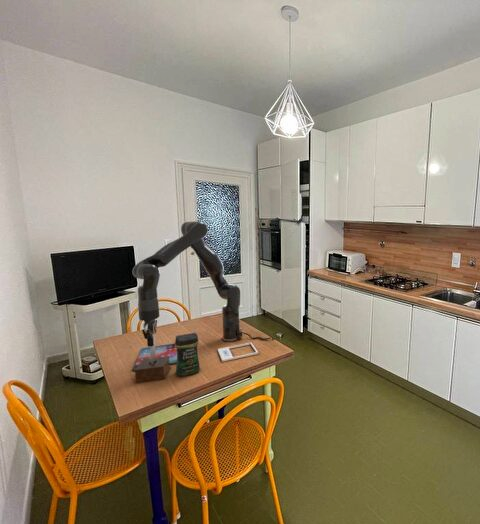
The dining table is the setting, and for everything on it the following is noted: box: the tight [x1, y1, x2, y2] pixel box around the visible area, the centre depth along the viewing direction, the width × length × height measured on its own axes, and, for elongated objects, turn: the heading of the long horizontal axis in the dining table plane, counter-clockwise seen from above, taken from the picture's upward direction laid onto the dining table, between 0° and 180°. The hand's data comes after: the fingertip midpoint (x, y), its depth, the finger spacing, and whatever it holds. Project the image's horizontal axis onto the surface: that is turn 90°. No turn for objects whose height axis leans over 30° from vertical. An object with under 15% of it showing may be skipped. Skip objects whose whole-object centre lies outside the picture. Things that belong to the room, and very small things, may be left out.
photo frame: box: [217, 342, 259, 363], centre depth 158 cm, size 15×1×18 cm
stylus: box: [150, 333, 156, 364], centre depth 132 cm, size 2×2×14 cm
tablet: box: [132, 342, 177, 372], centre depth 152 cm, size 19×25×1 cm
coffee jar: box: [174, 332, 201, 377], centre depth 136 cm, size 10×8×19 cm
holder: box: [134, 356, 171, 384], centre depth 134 cm, size 11×11×6 cm
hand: (151, 344), depth 132 cm, fingers closed on stylus, 1 cm apart
